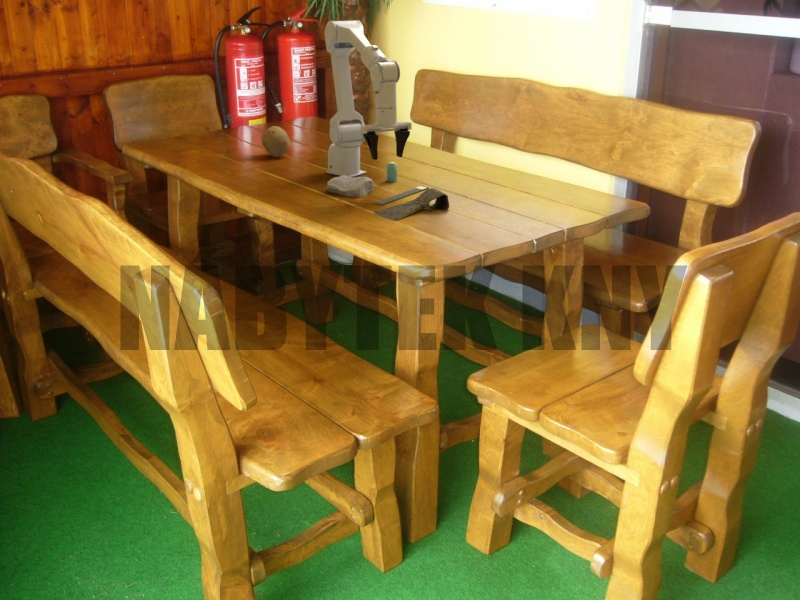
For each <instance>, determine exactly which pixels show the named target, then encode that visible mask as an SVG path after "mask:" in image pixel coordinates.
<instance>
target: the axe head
mask: <svg viewBox="0 0 800 600" xmlns="http://www.w3.org/2000/svg"><path fill="white" fill-rule="evenodd" d="M434 200H435V202H434V203H433V204H432V205H430V203H431V202H432V201H434ZM449 208H450V201H449V196H448V195H447V194H446V193H444V192H442V191H441V190H439V189H436V188H435V187H434V188H433V187H431V188H429V189H426V190H423V191H422V193H420V195H419V196H417V197H415V198H414V199H412V200H409V201H406V202H404V203H400V204H398V205H394V206H390V207H386V208H383V209H380V210H375V211H373V214H375V215H376V216H379V217H381V218H384V219H387V220H390V221H394V222H395V221H396V222H397V221H400V220H402V219H404V218H406V217H408V216H409V215H410V216H411V215H412V214H414V213H415V212H418V211H419V210H428V211H433V212H442V211H443V212H445V211H449Z"/></svg>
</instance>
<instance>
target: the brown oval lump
mask: <svg viewBox="0 0 800 600" xmlns="http://www.w3.org/2000/svg"><path fill="white" fill-rule="evenodd" d="M261 143H262V146H263V148H264V149H265V150H266V151H267V153H268V154H269V155H271V156H272V158H280V157H282V156H283V155H284V154H287V153H288V152H289V151H290V149H291V141H290V138H289V135H288V133H287V131H286V130H285V129H283V128H282V127H280V126H277V125H272V126H270V127H268V128H267V129H266V130H265V131H264V132H263V133H262V137H261Z"/></svg>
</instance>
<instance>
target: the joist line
mask: <svg viewBox="0 0 800 600" xmlns="http://www.w3.org/2000/svg"><path fill="white" fill-rule="evenodd" d="M428 189H430V187H428V186H424V185H422V186H421V185H420V186H419V185H418V186H416V187H414V188H412V189H409V190H406V191H403V192H401V193H397V194H395V195H392V196H390V197H386V198H384V199H381V200H377V201H375V202H374V204H375V205H380V206H384V205H387V204H389V203H393V202H395V201H398V200H400V199H403V198H406V197H410V196H412V195H414V194H418V193H420V192H424V191H426V190H428Z"/></svg>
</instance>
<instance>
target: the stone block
mask: <svg viewBox="0 0 800 600" xmlns="http://www.w3.org/2000/svg"><path fill="white" fill-rule="evenodd" d="M326 190H327V192H329V193H333V194H336V195H340V196H343V197H349V198H363V197H365V196H367V195H368V194H370V193H372V192H373V191H374V181H373V179H372V178H369V177H368V176H355V177H348V176H346V175H341V176H336V177H333V178H331V179H329V180H328V181H327V182H326Z"/></svg>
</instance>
